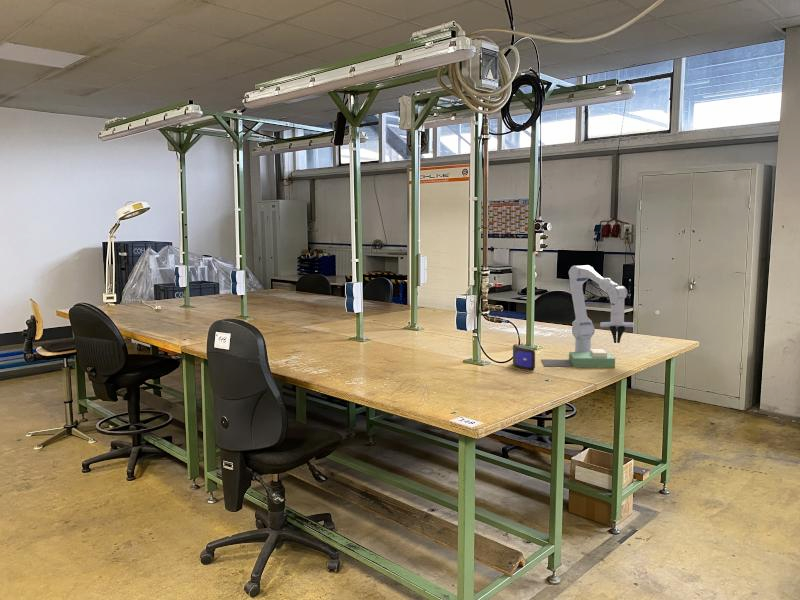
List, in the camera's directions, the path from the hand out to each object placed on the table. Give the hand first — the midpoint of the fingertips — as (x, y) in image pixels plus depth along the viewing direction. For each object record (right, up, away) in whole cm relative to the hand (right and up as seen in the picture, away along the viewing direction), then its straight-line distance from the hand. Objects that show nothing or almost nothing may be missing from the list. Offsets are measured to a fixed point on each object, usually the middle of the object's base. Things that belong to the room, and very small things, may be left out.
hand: (616, 342), depth 279 cm
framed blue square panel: (-42, -11, -1) cm, 44 cm away
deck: (-11, -10, +3) cm, 15 cm away
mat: (-26, -10, +5) cm, 28 cm away
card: (-8, -6, +2) cm, 10 cm away
